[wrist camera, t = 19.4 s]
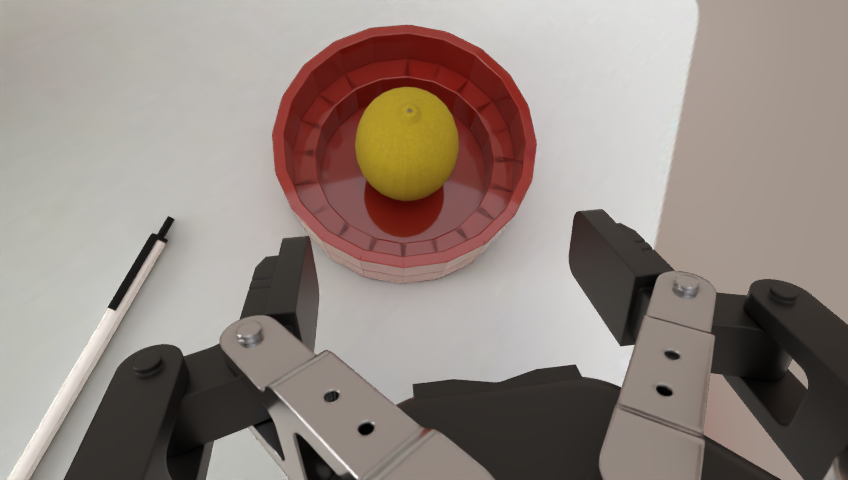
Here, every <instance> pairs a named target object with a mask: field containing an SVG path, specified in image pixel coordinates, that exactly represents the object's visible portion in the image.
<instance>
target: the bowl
mask: <svg viewBox="0 0 848 480" xmlns="http://www.w3.org/2000/svg"><path fill="white" fill-rule="evenodd" d="M401 87H415V88H419V89H422V90H425V91H428V92H430V93H431V94H433V95H435V96H437V97H438V98H439V99H440V100H441V101H442V102H443V103H444V104H445V105H446V107H447V108H448V110H449V111H450V113H451V114H452V116H453V119H454V122H455V125H456V128H457V131H458V143H459V151H458V156H457V160H456V164H455V167H454V169H453V171H452V173H451V175H450V176H449V178H448V180H447V181H446V182H445V183H444V184H443V185H442V186H441V187H440V188H439V189H438V190H437V191H436V192H434V193H432V194H431V195H429V196H427V197H425V198H422V199H418V200H413V201H401V200H395V199H392V198H389V197H387V196H385V195H382V194H381V193H380V192H378V191H377V190H376V189H375V188H373V187H372V186H371V185H370V183H369V182H368V181H367V180H366V178H365V177H364V176H363V174H362V171H361V169H360V166H359V164H358V162H357V156H356V149H355V141H356V134H357V128H358V125H359V122H360V120H361V118H362V116H363V113H364V111H365V110H366V109H367V107H368V106H369V105H370V104H371V102H372V101H373V100H374V99H376V98H377V97H378V96H380V95H381V94H382V93H384V92H387V91H389V90H392V89H395V88H401ZM272 133H273V134H272V140H273V152H274V165H275V172H276V176H277V178H278V180H279V182H280V184H281V187H282V189H283V191H284V193H285V196H286V198H287V200H288V202H289V204H290V207H291V209H292V210H293V212H294V213H295V215H296V216H297V218H298V220H299V221H300V223H301V224H302V226H303V227H304V229H305V230H306V232H307V233H308V235H309V236H310V237H311V238H312V239H313V240H314V241H315V242H316V243H317V244H318V245H319V246H320V247H321V248H322V249H323V251H324V252H325V253H326V254H327V255H328V256H329V257H330V258H331V259H333V260H334V261H336V262H337V263H339V264H341V265H343V266H345V267H347V268H349V269H351V270H352V271H354V272H356V273H358V274H360V275H362V276H364V277H368V278H373V279H379V280H384V281H390V282H396V283H411V282H418V281H426V280H433V279H438V278H441V277H443V276H445V275H448V274H450V273H452V272H454V271H456V270H458V269H460V268H462V267H464V266H466V265H468V264H470V263H471V262H473V261H474V260H475V259H476V258H477V257H478V256H479V255H480V254H481V253H482V252H483V251H484V250H485V249H487V248H488V247H489V246H490V245H491V244H492V243H493V242H494V241H495V240H496V239H497V237H498V236H499V235H500V234H501V232H502V231H503V230H504V228H505V227H506V226H507V225H508V223H509V222H510V221H511V220H512V218H513V217H514V216H515V214H516V212H517V210H518V208H519V206H520V204H521V202H522V200H523V198H524V196H525V194H526V192H527V190H528V188H529V186H530V184H531V182H532V179H533V170H534V162H535V154H536V145H537V143H536V138H535V133H534V129H533V124H532V119H531V115H530V110H529V107H528V104H527V102H526V101H525V99H524V97H523V96H522V94H521V92H520V91H519V89H518V87H517V86H516V84H515V82H514V81H513V79H512V77H511V75H510V74H509V73H508V72H507V71H506V70H504V69H503V68H502V67H501V66H500V65H499V64H498V63H497V62H496V61H495V60H493V59H492V58H491V57H490V56H489V55H488V54H487V53H486V52H485V51H484V50H482V49H481V48H479V47H477V46H475V45H473V44H471V43H469V42H467V41H465V40H463V39H461V38H459V37H457V36H455V35H453V34H451V33H449V32H446V31H441V30H435V29H430V28H424V27H419V26H414V25H398V26H387V27H375V28H369V29H366V30H363V31H361V32H358V33H356V34H353V35H350V36H348V37H345V38H342V39H340V40H337V41H335V42H333V43H332V44H330V45H329V46H328V47H326V48H325V49H324V50H323V51H321V52H320V53H319V54H317V55H316V56H315V57H313V58H312V59H311V60H310V61H308V62H307V63H306V64H305V65H304V66H303V67H302V68H301V70H300V71H299V73H298V74H297V76H296V77H295V79H294V80H293V81H292V83H291V84H290V86H289V87H288V89H287V90H286V92H285V93H284V95H283V97H282V99H281V103H280V106H279V110H278V114H277V117H276V121H275V125H274V128H273V132H272Z"/></svg>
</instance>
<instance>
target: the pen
mask: <svg viewBox="0 0 848 480" xmlns="http://www.w3.org/2000/svg"><path fill="white" fill-rule="evenodd" d="M173 221H174V219H173V218H171V217H169V216H168V217H167V219H166V221H165V222H164V224H163V226H162V227H161V229H160V231H159V232H158V234H157V235H156V234H153V233H152V234H151V235H150V237H149V238H148V240H147V242H146V244H145V245H144V247H143V249H142V250H141V252H140V254H139V255H138V257H137V259H136V260H135V262H134V264H133V265H132V267H131V269H130V270H129V272H128V274H127V276H126V277H125V279H124V281H123V282H122V284H121V286H120V287H119V289H118V291H117V292H116V294H115V296H114V297H113V299H112V301H111V303H110V304H109V306H108V310H107V311H106V313H105V315H104V316H103V318H102V320H101V321H100V323H99V325H98V327H97V328H96V330H95V332H94V333H93V335H92V337H91V338H90V340H89V342H88V343H87V345H86V347H85V349H84V350H83V352H82V354H81V355H80V357H79V359H78V360H77V362H76V364H75V365H74V367H73V369H72V371H71V372H70V374H69V376H68V377H67V379H66V381H65V382H64V384H63V386H62V388H61V389H60V391H59V393H58V394H57V396H56V398H55V399H54V401H53V403H52V404H51V406H50V408H49V410H48V411H47V413H46V415H45V416H44V418H43V420H42V421H41V423H40V425H39V427H38V428H37V430H36V432H35V433H34V435H33V437H32V438H31V440H30V442H29V443H28V445H27V447H26V449H25V450H24V452H23V454H22V455H21V457H20V459H19V460H18V462H17V464H16V465H15V467H14V469H13V471H12V472H11V474H10V476H9V477H8V479H7V480H29V479H30V478H31V476H32V474H33V472H34V471H35V469H36V467H37V465H38V464H39V462H40V460H41V459H42V457H43V455H44V453H45V452H46V450H47V448H48V446H49V445H50V443H51V441H52V440H53V438H54V436H55V434H56V433H57V431H58V429H59V427H60V426H61V424H62V422H63V421H64V419H65V417H66V415H67V414H68V412H69V410H70V408H71V407H72V405H73V403H74V402H75V400H76V398H77V396H78V395H79V393H80V391H81V389H82V388H83V386H84V384H85V383H86V381H87V379H88V377H89V376H90V374H91V372H92V370H93V369H94V367H95V365H96V364H97V362H98V360H99V358H100V357H101V355H102V353H103V351H104V350H105V348H106V346H107V345H108V343H109V341H110V339H111V338H112V336H113V334H114V332H115V331H116V329H117V327H118V326H119V324H120V322H121V320H122V319H123V317H124V315H125V313H126V312H127V310H128V308H129V307H130V305H131V303H132V301H133V300H134V298H135V296H136V294H137V293H138V291H139V289H140V288H141V286H142V284H143V282H144V281H145V279H146V277H147V275H148V274H149V272H150V270H151V269H152V267H153V265H154V263H155V262H156V260H157V258H158V256H159V255H160V253H161V251H162V250H163V248H164V246H165V244H166V243H167V241H168V240H167V239H165V238H164V237H165V235H166V233H167V232H168V230H169V228H170V226H171V225H172V223H173Z"/></svg>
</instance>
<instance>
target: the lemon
mask: <svg viewBox="0 0 848 480" xmlns="http://www.w3.org/2000/svg"><path fill="white" fill-rule="evenodd" d="M355 149H356V156H357V162H358V164H359V166H360V169H361V171H362V174H363V176H364V177H365V178H366V180H367V181H368V182H369V183H370V185H371V186H372V187H373V188H375V189H376V190H377V191H378V192H380V193H381V194H382V195H385V196H387V197H389V198H392V199H395V200H401V201H413V200H418V199H422V198H425V197H427V196H429V195H431V194H432V193H434V192H436V191H437V190H438V189H439V188H440V187H441V186H442V185H443V184H444V183H445V182H446V181H447V180H448V178H449V176H450V175H451V173H452V171H453V169H454V167H455V164H456V160H457V156H458V151H459V143H458V131H457V128H456V125H455V122H454V119H453V116H452V114H451V113H450V111H449V110H448V108H447V107H446V105H445V104H444V103H443V102H442V101H441V100H440V99H439V98H438V97H437V96H435V95H433V94H431V93H430V92H428V91H425V90H422V89H419V88H415V87H401V88H395V89H392V90H389V91H387V92H384V93H382V94H381V95H380V96H378V97H377V98H376V99H374V100H373V101H372V102H371V104H370V105H369V106H368V107H367V109H366V110H365V111H364V113H363V116H362V118H361V120H360V122H359V125H358V128H357V134H356V141H355Z"/></svg>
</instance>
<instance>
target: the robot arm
mask: <svg viewBox="0 0 848 480" xmlns="http://www.w3.org/2000/svg"><path fill="white" fill-rule="evenodd" d="M569 265H570V270H571V272H572V275H573V276H574V278H575V279H576V281H577V282H578V284H579V285H580V287H581V288H582V290H583V291H584V293H585V294H586V296H587V297H588V299H589V300H590V302H591V303H592V305H593V306H594V307H595V309H596V310H597V312H598V313H599V315H600V316H601V318H602V319H603V321H604V322H605V324H606V325H607V327H608V328H609V330H610V331H611V333H612V334H613V336H614V337H615V339H616V340H617V342H618V343H619V345H620V346H628V345H635V346H634V350H633V353H632V356H631V359H630V362H629V366H628V369H627V372H626V375H625V378H624V382H623V385H622V388H621V387H619V386H617V385H614V384H611V383H609V382H606V381H602V380H598V379H594V378H588V377H582V376H581V374H580V372H579V370H578V368H577V366H576V365H568V366H560V367H551V368H543V369H536V370H533V371H530V372H527V373H524V374H522V375H519V376H516V377H513V378H510V379H507V380H505V381H502V382H481V381H469V380H456V379H452V380H444V381H436V382H427V383H419V384H413V395H414V397H413V398H410V399H407V400H405V401H403V402H401V403H399V404H397V405H395V404H393V403H392V402H391V401H390V400H389V399H387V398H386V397H385V396H384V395H383V394H382V393H380V392H379V391H378V390H377V389H376V388H374V387H373V386H372V385H371V384H370V383H368V382H367V381H366V380H365V379H364V378H362V377H361V376H360V375H359V374H358V373H356V372H355V371H354V370H353V369H352V368H350V367H349V366H348V365H347V364H346V363H344V362H343V361H342V360H341V359H340V358H339V357H337V356H336V355H335V354H334V353H332V352H331V351H328V350H325V351H323V352H321V353H320V354H318V355H316V354H314V347H315V337H316V327H317V316H318V306H319V286H318V279H317V273H316V268H315V262H314V257H313V251H312V246H311V241H310V238H309V236H304V237H293V238H283V240H282V243H281V248H280V252H279V256H269V257H265V258H264V259H263V260H262V261H261V262H260V263H259V264H258V266H257V267H256V268H255V271H254V274H253V277H252V281H251V284H250V287H249V290H248V294H247V297H246V300H245V303H244V307H243V310H242V313H241V317H240V320H238V321H236V322H234V323H233V324H231V325H230V326H228V327H227V328H226V329H225V330H224V332H223V333H222V335H221V337H220V343H219V344H217V345H215V346H213V347H211V348H208V349H205V350H202V351H199V352H196V353H193V354H190V355H187V356H184V357H183V354H182V352H181V350H180V349H179V348H178V347H176V346H173V345H168V344H161V345H154V346H150V347H147V348H144V349H142V350H139V351H137V352H135V353H134V354H132V355H131V356H129V357H128V358H127V359H125V360H124V361H123V362H122V363H121V364H120V365H119V367H118V368H117V370H116V372H115V374H114V376H113V378H112V380H111V382H110V384H109V386H108V388H107V390H106V393H105V395H104V397H103V399H102V401H101V403H100V405H99V407H98V409H97V411H96V413H95V415H94V418H93V420H92V422H91V424H90V426H89V428H88V430H87V432H86V434H85V436H84V438H83V440H82V443H81V445H80V447H79V449H78V451H77V453H76V455H75V457H74V459H73V461H72V463H71V465H70V468H69V470H68V472H67V474H66V476H65V478H64V480H206V476H207V471H208V466H209V462H210V457H211V452H212V448H213V443H214V440H217V439H219V438H222V437H224V436H227V435H229V434H232V433H235V432H237V431H240V430H242V429H245V428H247V427H248V428H249V430H250V431H251V432H252V433H253V435H254V436H255V437H256V438H257V439H258V441H259V442H260V443H261V444H262V446H263V447H264V448H265V449H266V451H267V452H268V453H269V454H270V455H271V457H272V458H273V459H274V460H275V462H276V463H277V464H278V465H279V467H280V468H281V469H282V470H283V471H284V473H285V474H286V476H287V477H288V479H289V480H781V479H779V478H777V477H775V476H774V475H772V474H770V473H769V472H767V471H765V470H764V469H762V468H760V467H758V466H757V465H755V464H753V463H751V462H750V461H748V460H746V459H745V458H743V457H741V456H739V455H738V454H736V453H734V452H733V451H731V450H729V449H727V448H725V447H724V446H722V445H721V444H719V443H717V442H715V441H714V440H712V439H710V438H708V437H707V436H705V435H703V431H704V422H705V414H706V406H707V398H708V390H709V381H710V373H715V374H722V375H723V376H724V378H725V379H726V380H727V382H728V383H729V384H730V385H731V387H732V388H733V389H734V391H735V392H736V393H737V394H738V396H739V397H740V398H741V400H742V401H743V402H744V404H745V405H746V406H747V407H748V409H749V410H750V411H751V412H752V414H753V415H754V416H755V418H756V419H757V420H758V421H759V423H760V424H761V425H762V427H763V428H764V429H765V430H766V432H767V433H768V434H769V436H770V437H771V438H772V439H773V441H774V442H775V443H776V445H777V446H778V447H779V448H780V450H781V451H782V452H783V453H784V455H785V456H786V457H787V459H788V460H789V461H790V462H791V464H792V465H793V466H794V468H795V469H796V470H797V472H798V473H799V474H800V475H801V476H802V478H803V479H804V480H848V325H847V324H846V323H845V322H844V321H843V320H841V319H840V318H839V317H838V316H836V315H835V314H834V313H833V312H831V311H830V310H829V309H828V308H827V307H826V306H824V305H823V304H822V303H821V302H819V301H818V300H817V299H816V298H815V297H813V296H812V295H811V294H810V293H808V292H807V291H805V290H804V289H802V288H800V287H798V286H796V285H793V284H791V283H787V282H784V281H779V280H772V279H764V280H758V281H755V282H753V283H752V284H751V286H750V289H749V291H748V294H747V295H736V294H725V293H717V292H716V290H715V288H714V286H713V285H712V284H711V283H710V282H709V281H707V280H706V279H704V278H702V277H700V276H697V275H695V274H691V273H688V272H682V271H675V270H674V269H673V268H672V267H671V266H670V265H669V264H668V263H667V262H666V261H665V260H664V259H662V257H661V256H660V255H659V254H658V253H657V252H656V251H655V250H652V247H651V246H650V245H649V244H648V243H647V242H645V240H644V239H643V238H642V237H641V236H640V235H639V234H638V233H637V232H636V231H635V230H633V229H631V228H629V227H627V226H625V225H623V224H621V223H617V224H616V222H615V221H614V220H613V219H612V218H611V217H610V216H609V215H608V214H607V213H606V212H605V211H604V210H602V209H597V210H587V211H578V212H576V214H575V216H574V220H573V227H572V235H571V242H570V250H569ZM792 359H794V360H795V361H796V362H797V364H799V366H800V367H801V368H802V369H803V370H804V372H805V373H806V376H807V379H808V390H807V389H806V387H805V386H804V385H803V384H802V383H801V382H800V381H799V380H798V379H797V378H796V377H795V376H794V375H793V374H792V373H791V372H790V371H789V370H788V367H789V365H790V363H791V361H792Z"/></svg>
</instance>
